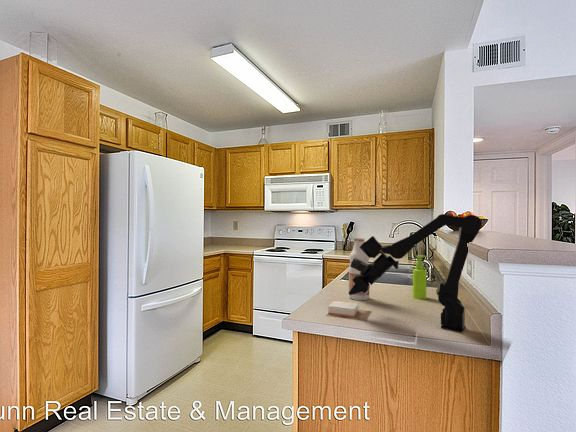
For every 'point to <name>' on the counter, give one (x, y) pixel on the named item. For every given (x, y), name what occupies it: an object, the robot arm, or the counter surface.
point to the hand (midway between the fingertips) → (349, 294)
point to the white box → (343, 308)
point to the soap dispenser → (419, 279)
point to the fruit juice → (353, 272)
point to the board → (361, 315)
